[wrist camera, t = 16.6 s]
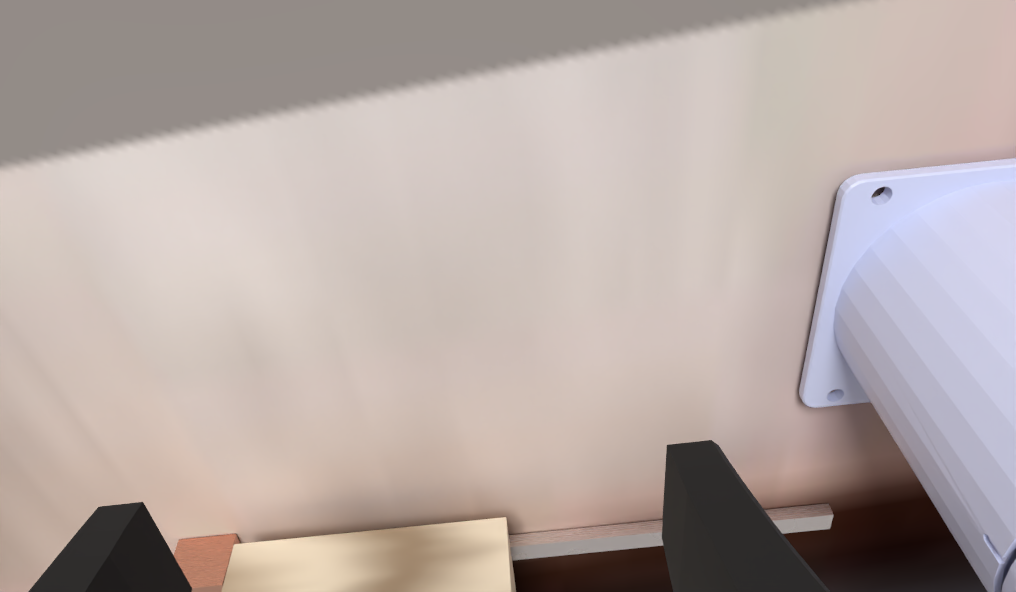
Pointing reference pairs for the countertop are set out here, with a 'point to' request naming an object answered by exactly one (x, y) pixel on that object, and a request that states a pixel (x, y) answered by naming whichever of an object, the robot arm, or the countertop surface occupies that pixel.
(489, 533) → the cream rectangular box
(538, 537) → the track
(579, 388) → the countertop surface
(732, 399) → the countertop surface
